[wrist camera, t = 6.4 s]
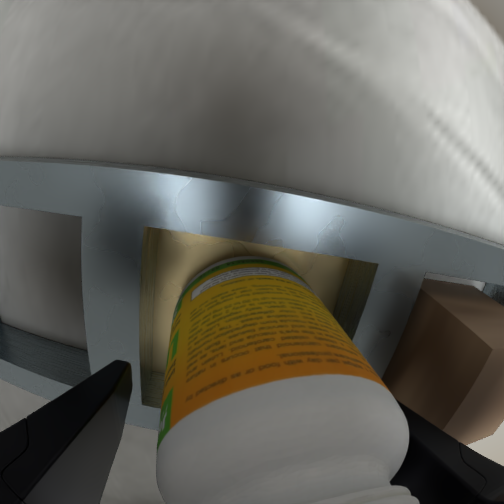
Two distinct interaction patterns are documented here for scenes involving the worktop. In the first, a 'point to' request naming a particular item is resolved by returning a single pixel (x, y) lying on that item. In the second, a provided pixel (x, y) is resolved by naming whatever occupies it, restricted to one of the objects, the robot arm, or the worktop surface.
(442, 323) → the walnut block
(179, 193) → the rail
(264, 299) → the supplement bottle
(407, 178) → the worktop surface
